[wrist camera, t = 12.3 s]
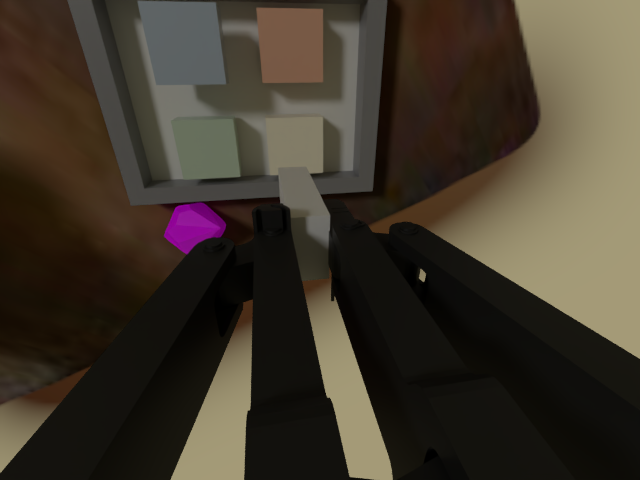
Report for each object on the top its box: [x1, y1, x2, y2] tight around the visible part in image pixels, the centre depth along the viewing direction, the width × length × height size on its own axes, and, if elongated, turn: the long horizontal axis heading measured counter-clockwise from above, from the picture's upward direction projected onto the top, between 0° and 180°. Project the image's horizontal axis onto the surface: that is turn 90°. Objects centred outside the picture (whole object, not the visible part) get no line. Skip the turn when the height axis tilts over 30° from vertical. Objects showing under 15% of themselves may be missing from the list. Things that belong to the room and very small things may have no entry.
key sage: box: [171, 116, 242, 180], centre depth 30 cm, size 5×5×2 cm
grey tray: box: [68, 0, 387, 206], centre depth 29 cm, size 24×18×3 cm
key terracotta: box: [256, 8, 323, 83], centre depth 27 cm, size 5×5×2 cm
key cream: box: [265, 113, 323, 175], centre depth 31 cm, size 5×5×2 cm
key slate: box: [137, 1, 229, 85], centre depth 24 cm, size 5×5×2 cm
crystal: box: [164, 203, 226, 254], centre depth 33 cm, size 5×5×5 cm
